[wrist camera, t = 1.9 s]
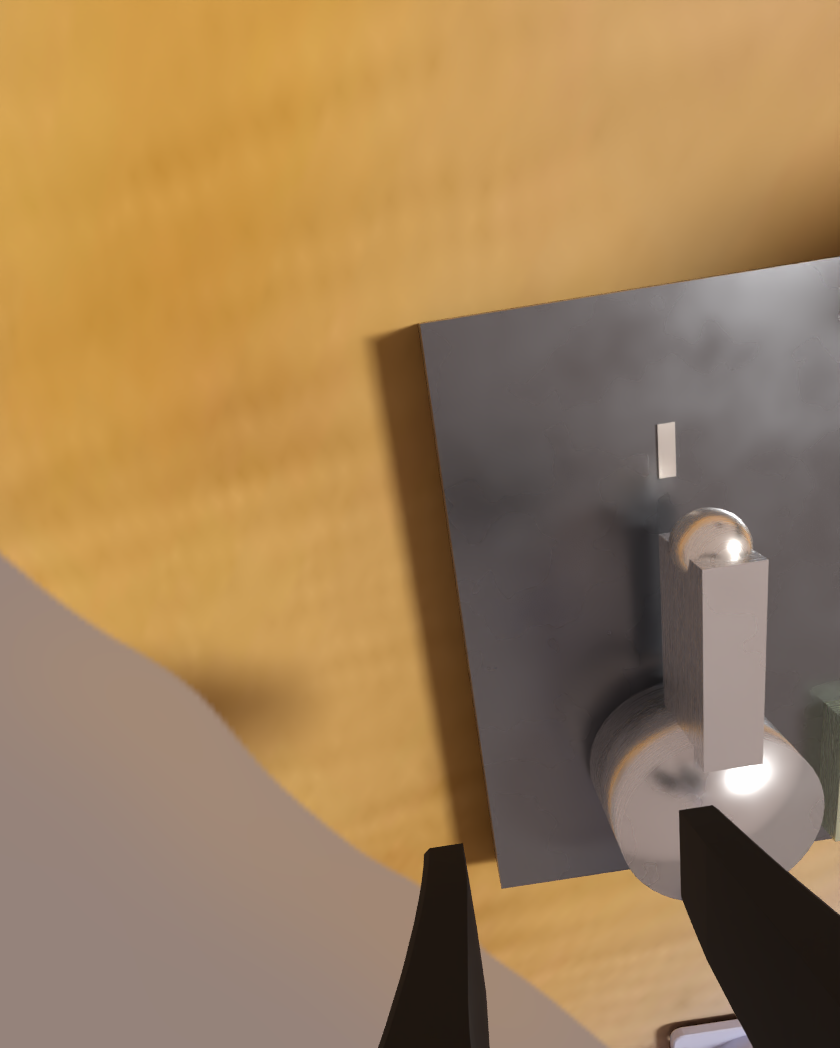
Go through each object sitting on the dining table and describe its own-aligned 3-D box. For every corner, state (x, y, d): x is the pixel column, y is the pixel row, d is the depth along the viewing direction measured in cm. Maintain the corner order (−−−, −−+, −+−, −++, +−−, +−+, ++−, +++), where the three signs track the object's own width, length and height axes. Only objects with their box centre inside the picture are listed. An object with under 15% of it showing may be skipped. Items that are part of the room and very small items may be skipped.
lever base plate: (877, 796, 24) (929, 848, 22) (495, 855, 24) (506, 913, 22) (933, 240, 18) (1016, 229, 16) (417, 323, 18) (421, 324, 16)
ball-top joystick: (764, 812, 22) (832, 903, 19) (595, 838, 22) (632, 933, 19) (774, 469, 18) (862, 505, 15) (568, 502, 18) (608, 545, 15)
